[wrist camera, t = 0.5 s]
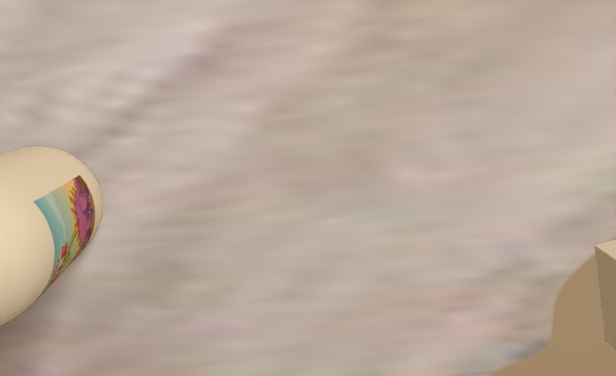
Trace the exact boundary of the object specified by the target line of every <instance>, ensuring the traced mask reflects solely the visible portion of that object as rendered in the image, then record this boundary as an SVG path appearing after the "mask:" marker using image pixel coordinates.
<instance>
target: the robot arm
mask: <svg viewBox="0 0 616 376" xmlns="http://www.w3.org/2000/svg"><path fill="white" fill-rule="evenodd" d="M595 252H596V261H597V269H598V279H599V289H600V298H601V307H602V315H603V325H604V335H605V341H606V342H607V343H608V344H609V345H610V346H611V347H612V348H613V349H615V350H616V240H613V241H610V242H606V243H602V244H599V245H595Z"/></svg>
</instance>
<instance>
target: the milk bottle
mask: <svg viewBox="0 0 616 376" xmlns="http://www.w3.org/2000/svg"><path fill="white" fill-rule="evenodd" d="M102 214H103V199H102V194H101V191H100V188H99V185H98V183H97V181H96V179H95V177H94V176H93V174H92V173H91V172H90V170H89V169H88V168H87V167H86V166H85V165H84V164H83V163H82V162H81V161H79V160H78V159H76V158H75V157H73V156H72V155H70V154H68V153H66V152H64V151H61V150H58V149H54V148H50V147H40V146H38V147H27V148H22V149H18V150H14V151H11V152H8V153H5V154H2V155H0V326H1V325H3V324H5V323H6V322H8V321H10V320H11V319H13V318H14V317H16V316H17V315H19V314H20V313H22V312H23V311H24V310H25V309H27V308H28V307H29V306H30V305H31V304H32V303H33V302H34V301H35V300H36V299H37V298H39V297H40V296H41V295H42V294H43V293H44V292H45V291H46V290H47V288H48V287H49V286H50V285H51V284H52V283H53V282H54V281H55V280H56V279H57V278H58V277H59V276H60V275H61V274H62V272H63V271H64V270H65V269H66V268H67V267H68V266H69V265H70V264H71V263H72V261H73V260H74V259H75V258H76V257H77V256H78V255H79V254H80V253H81V251H82V250H83V249H84V248H85V247H86V246H87V245H88V243H89V242H90V241H91V239H92V238H93V237H94V235H95V234H96V232H97V230H98V228H99V225H100V223H101V219H102Z"/></svg>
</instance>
